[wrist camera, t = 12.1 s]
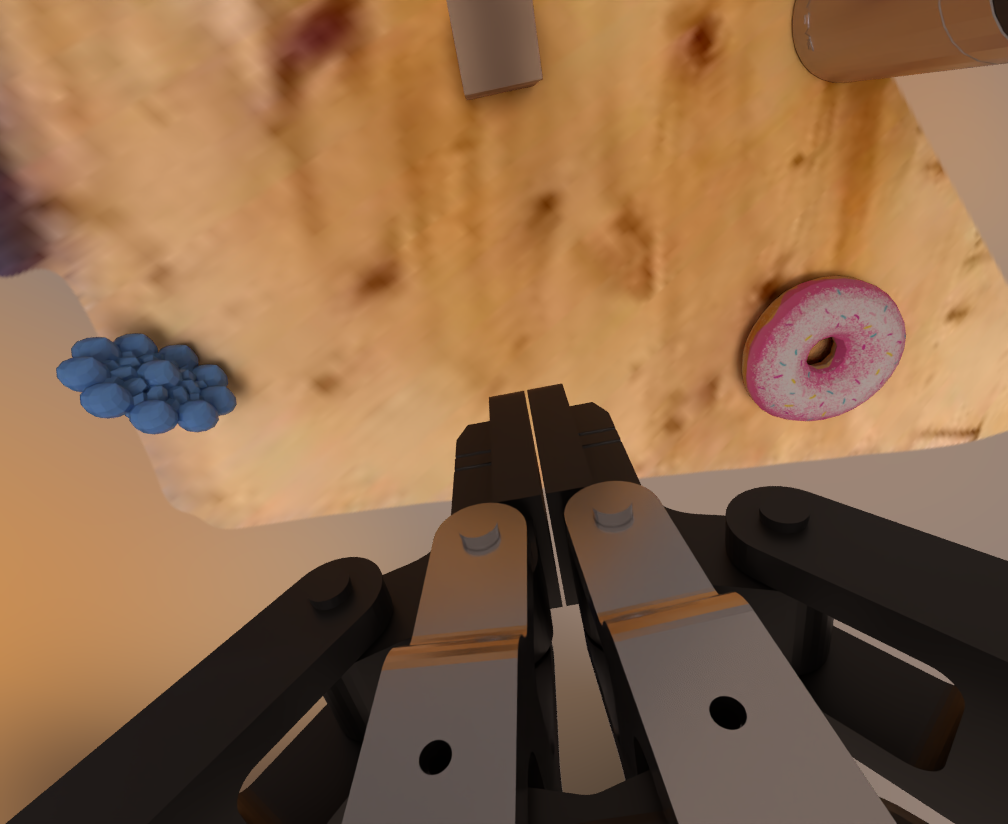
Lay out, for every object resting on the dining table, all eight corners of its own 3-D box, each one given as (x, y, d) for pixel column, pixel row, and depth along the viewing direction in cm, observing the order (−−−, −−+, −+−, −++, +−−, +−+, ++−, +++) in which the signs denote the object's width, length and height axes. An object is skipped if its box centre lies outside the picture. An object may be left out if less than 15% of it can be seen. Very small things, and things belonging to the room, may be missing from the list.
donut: (904, 277, 48) (947, 292, 44) (846, 410, 55) (879, 435, 50) (759, 264, 47) (788, 278, 43) (717, 400, 53) (738, 425, 49)
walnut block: (521, 4, 38) (529, -20, 32) (532, 86, 40) (542, 78, 34) (451, 19, 38) (446, -1, 32) (467, 100, 41) (464, 95, 34)
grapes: (106, 354, 49) (2, 418, 38) (135, 295, 46) (33, 345, 36) (230, 422, 52) (166, 498, 42) (262, 370, 50) (203, 436, 39)
